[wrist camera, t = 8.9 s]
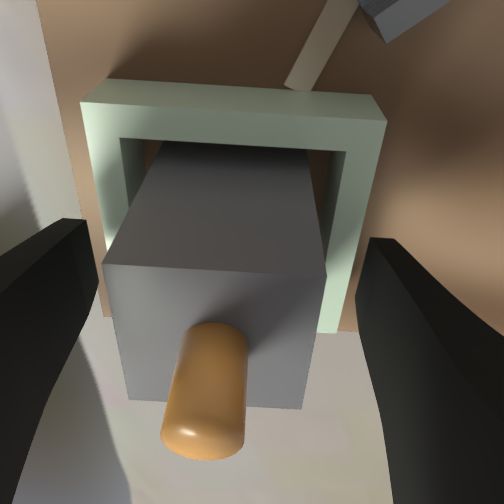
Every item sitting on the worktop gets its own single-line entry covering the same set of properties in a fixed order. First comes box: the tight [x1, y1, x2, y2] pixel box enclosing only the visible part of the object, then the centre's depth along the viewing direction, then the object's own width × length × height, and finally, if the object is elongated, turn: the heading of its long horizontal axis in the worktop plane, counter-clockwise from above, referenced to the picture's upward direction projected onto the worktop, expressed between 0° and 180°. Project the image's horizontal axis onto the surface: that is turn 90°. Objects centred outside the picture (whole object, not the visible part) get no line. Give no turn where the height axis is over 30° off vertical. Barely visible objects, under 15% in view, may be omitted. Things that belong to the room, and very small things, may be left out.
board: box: [36, 0, 504, 336], centre depth 12 cm, size 17×16×1 cm
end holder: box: [80, 78, 387, 333], centre depth 13 cm, size 7×7×2 cm
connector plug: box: [101, 140, 327, 460], centre depth 10 cm, size 4×4×8 cm
